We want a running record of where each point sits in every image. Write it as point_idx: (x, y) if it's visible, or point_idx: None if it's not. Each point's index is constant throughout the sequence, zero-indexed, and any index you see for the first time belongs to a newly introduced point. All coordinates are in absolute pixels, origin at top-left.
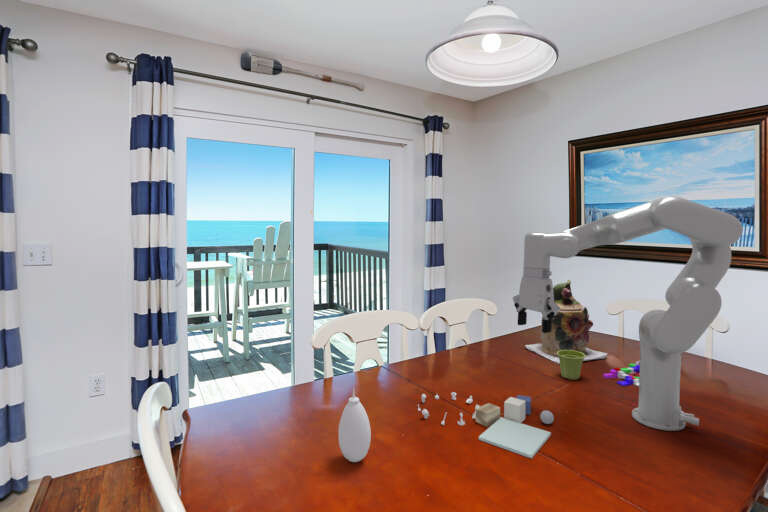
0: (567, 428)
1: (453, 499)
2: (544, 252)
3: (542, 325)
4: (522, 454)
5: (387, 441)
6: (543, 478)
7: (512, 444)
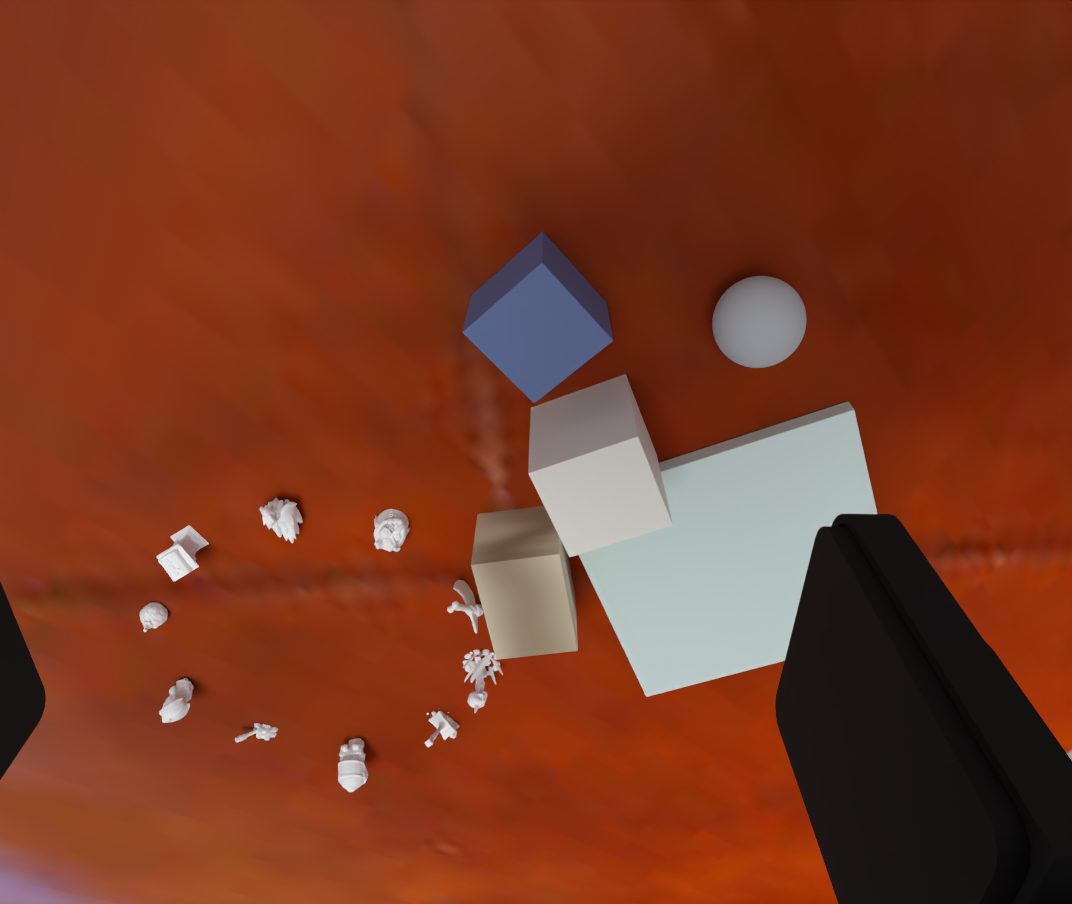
0: (877, 244)
1: None
2: None
3: (848, 881)
4: None
5: (466, 892)
6: None
7: (790, 634)
